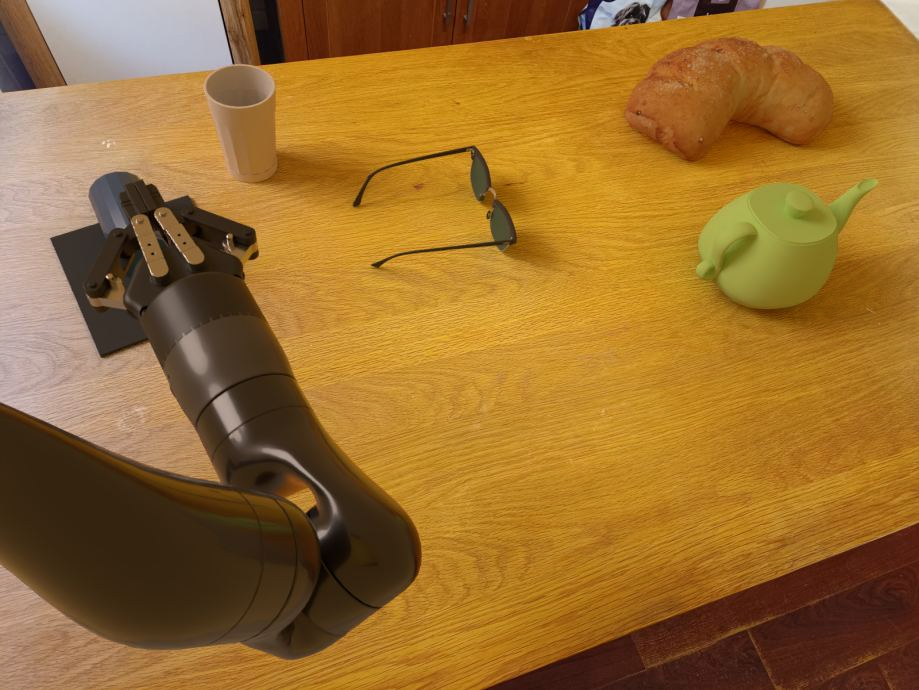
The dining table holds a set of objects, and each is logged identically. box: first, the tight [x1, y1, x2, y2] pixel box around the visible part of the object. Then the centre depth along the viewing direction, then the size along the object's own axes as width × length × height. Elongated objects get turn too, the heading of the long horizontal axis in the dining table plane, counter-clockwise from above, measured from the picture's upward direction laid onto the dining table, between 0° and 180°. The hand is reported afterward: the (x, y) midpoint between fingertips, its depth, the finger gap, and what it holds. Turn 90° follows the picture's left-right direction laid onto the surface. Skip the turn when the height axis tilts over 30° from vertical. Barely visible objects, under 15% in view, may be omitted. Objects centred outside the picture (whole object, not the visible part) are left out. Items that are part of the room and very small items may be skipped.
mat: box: [49, 194, 215, 358], centre depth 83 cm, size 16×18×1 cm
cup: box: [203, 63, 279, 184], centre depth 89 cm, size 8×8×12 cm
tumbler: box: [87, 171, 167, 278], centre depth 82 cm, size 6×6×11 cm
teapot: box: [695, 177, 879, 310], centre depth 89 cm, size 22×15×13 cm
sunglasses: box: [352, 145, 518, 268], centre depth 90 cm, size 16×17×5 cm
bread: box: [624, 36, 834, 162], centre depth 107 cm, size 32×20×10 cm, turn 107°
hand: (134, 190), depth 57 cm, fingers closed
